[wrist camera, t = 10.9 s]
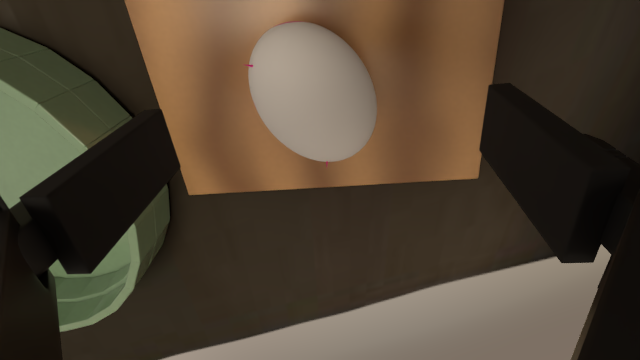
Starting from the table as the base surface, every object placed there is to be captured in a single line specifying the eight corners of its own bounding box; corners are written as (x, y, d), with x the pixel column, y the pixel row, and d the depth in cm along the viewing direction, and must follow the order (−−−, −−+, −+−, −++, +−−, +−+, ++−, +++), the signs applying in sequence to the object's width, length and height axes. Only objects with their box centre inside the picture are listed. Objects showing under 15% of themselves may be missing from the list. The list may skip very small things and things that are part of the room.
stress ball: (263, 40, 23) (189, 96, 19) (348, -35, 17) (263, 27, 13) (330, 131, 25) (277, 195, 22) (426, 96, 19) (372, 177, 16)
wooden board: (512, -79, 17) (516, -80, 17) (475, 174, 24) (478, 178, 23) (118, -33, 19) (113, -33, 18) (191, 191, 26) (188, 195, 25)
